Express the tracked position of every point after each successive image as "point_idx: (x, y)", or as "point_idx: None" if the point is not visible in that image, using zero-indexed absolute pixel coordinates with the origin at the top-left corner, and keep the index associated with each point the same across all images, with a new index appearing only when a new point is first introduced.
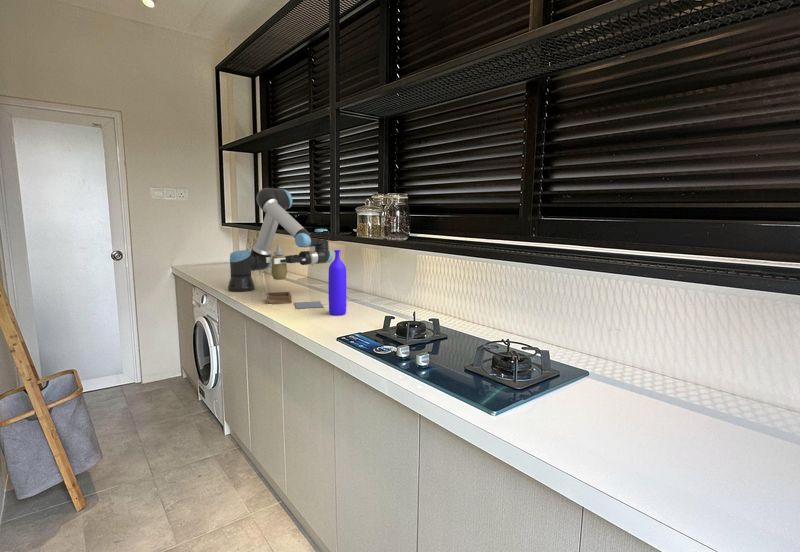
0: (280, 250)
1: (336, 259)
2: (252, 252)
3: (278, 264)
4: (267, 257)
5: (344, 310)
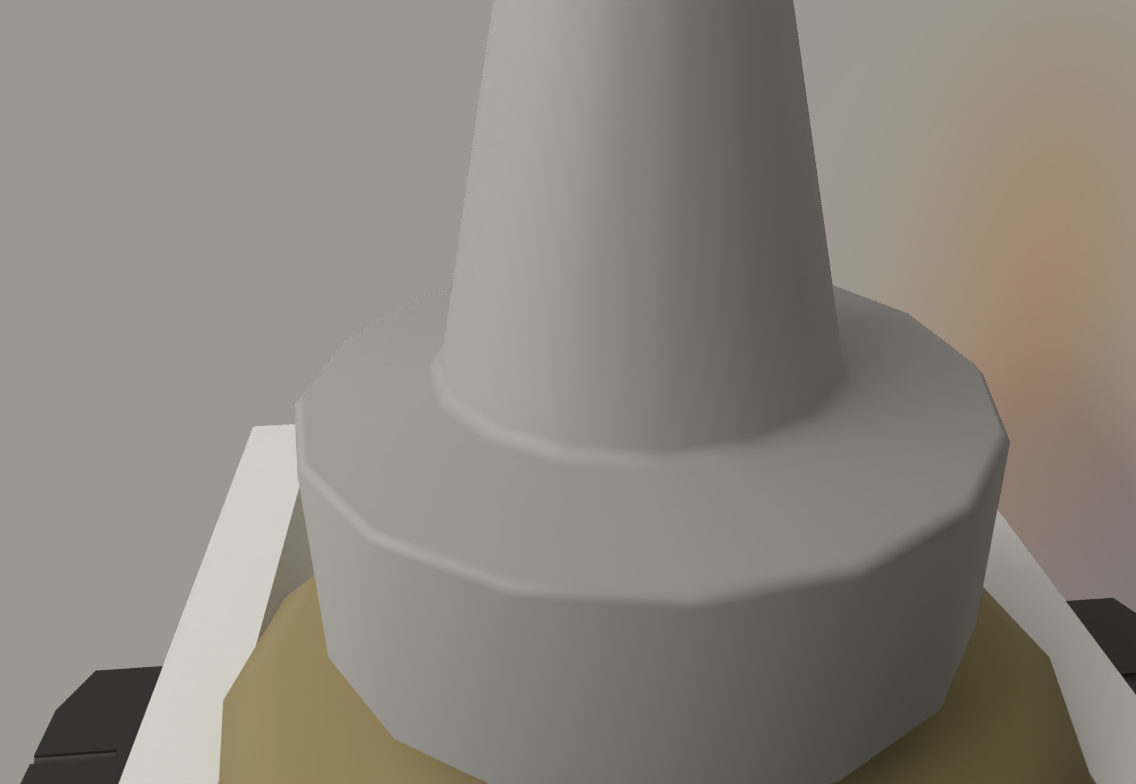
0: (455, 300)
1: None
2: None
3: None
4: None
5: None
